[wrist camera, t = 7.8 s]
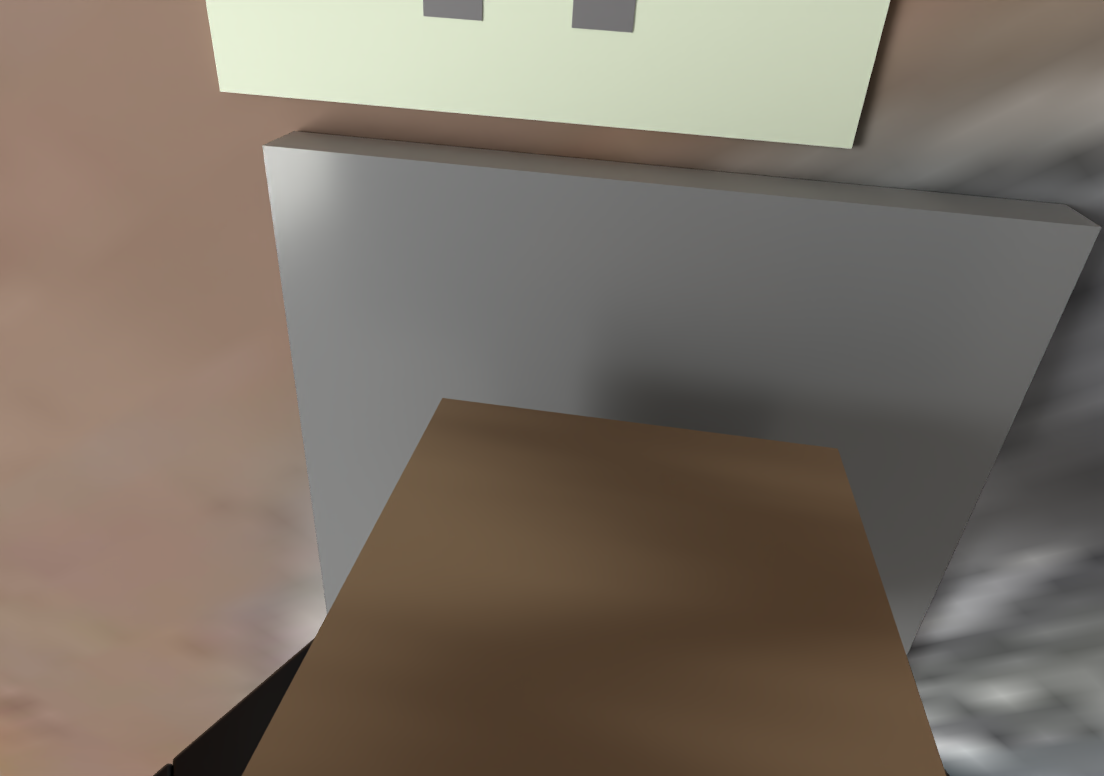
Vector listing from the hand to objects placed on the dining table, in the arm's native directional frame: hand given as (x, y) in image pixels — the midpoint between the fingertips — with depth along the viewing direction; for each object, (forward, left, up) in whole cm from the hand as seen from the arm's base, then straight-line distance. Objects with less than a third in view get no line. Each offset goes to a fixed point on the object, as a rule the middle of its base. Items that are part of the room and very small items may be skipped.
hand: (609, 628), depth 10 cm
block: (0, 0, -1) cm, 1 cm away
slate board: (0, 0, -4) cm, 4 cm away
